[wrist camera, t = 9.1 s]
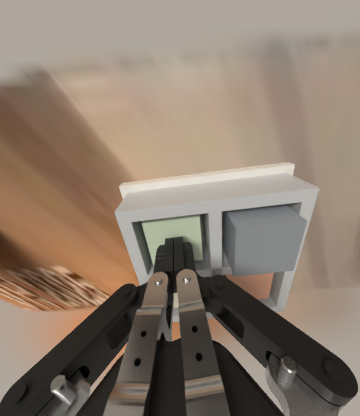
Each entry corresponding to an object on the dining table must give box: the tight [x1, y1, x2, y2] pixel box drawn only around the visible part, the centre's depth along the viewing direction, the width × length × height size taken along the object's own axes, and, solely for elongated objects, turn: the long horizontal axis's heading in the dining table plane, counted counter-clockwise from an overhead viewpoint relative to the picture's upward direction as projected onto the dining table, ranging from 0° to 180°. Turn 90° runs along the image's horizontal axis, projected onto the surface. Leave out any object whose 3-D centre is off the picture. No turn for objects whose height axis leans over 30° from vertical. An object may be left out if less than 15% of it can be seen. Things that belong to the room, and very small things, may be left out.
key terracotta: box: [223, 273, 274, 299], centre depth 19 cm, size 5×5×3 cm
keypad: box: [114, 162, 319, 322], centre depth 18 cm, size 16×16×5 cm
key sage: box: [142, 214, 203, 265], centre depth 16 cm, size 5×5×3 cm
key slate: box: [224, 204, 307, 277], centre depth 14 cm, size 5×5×3 cm
